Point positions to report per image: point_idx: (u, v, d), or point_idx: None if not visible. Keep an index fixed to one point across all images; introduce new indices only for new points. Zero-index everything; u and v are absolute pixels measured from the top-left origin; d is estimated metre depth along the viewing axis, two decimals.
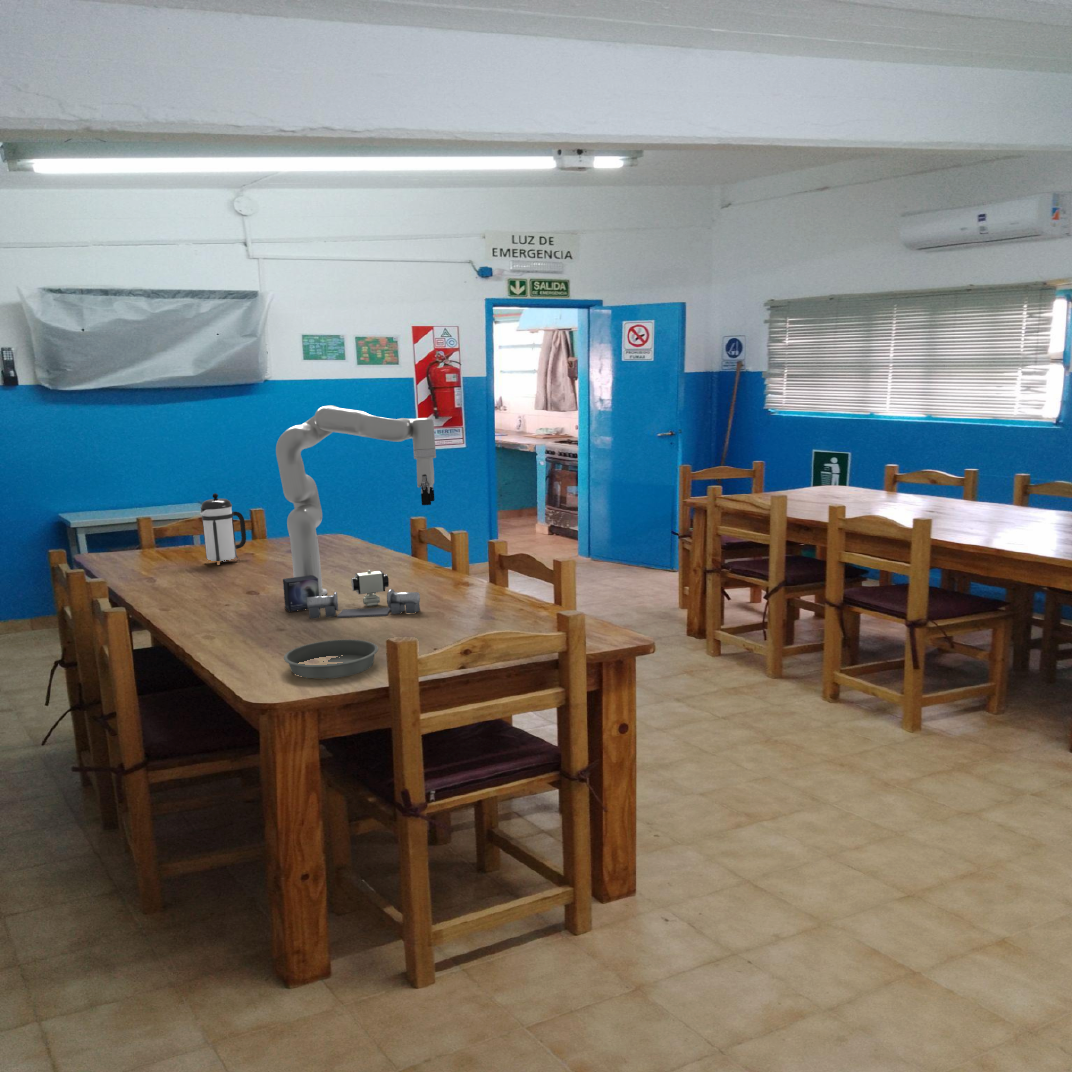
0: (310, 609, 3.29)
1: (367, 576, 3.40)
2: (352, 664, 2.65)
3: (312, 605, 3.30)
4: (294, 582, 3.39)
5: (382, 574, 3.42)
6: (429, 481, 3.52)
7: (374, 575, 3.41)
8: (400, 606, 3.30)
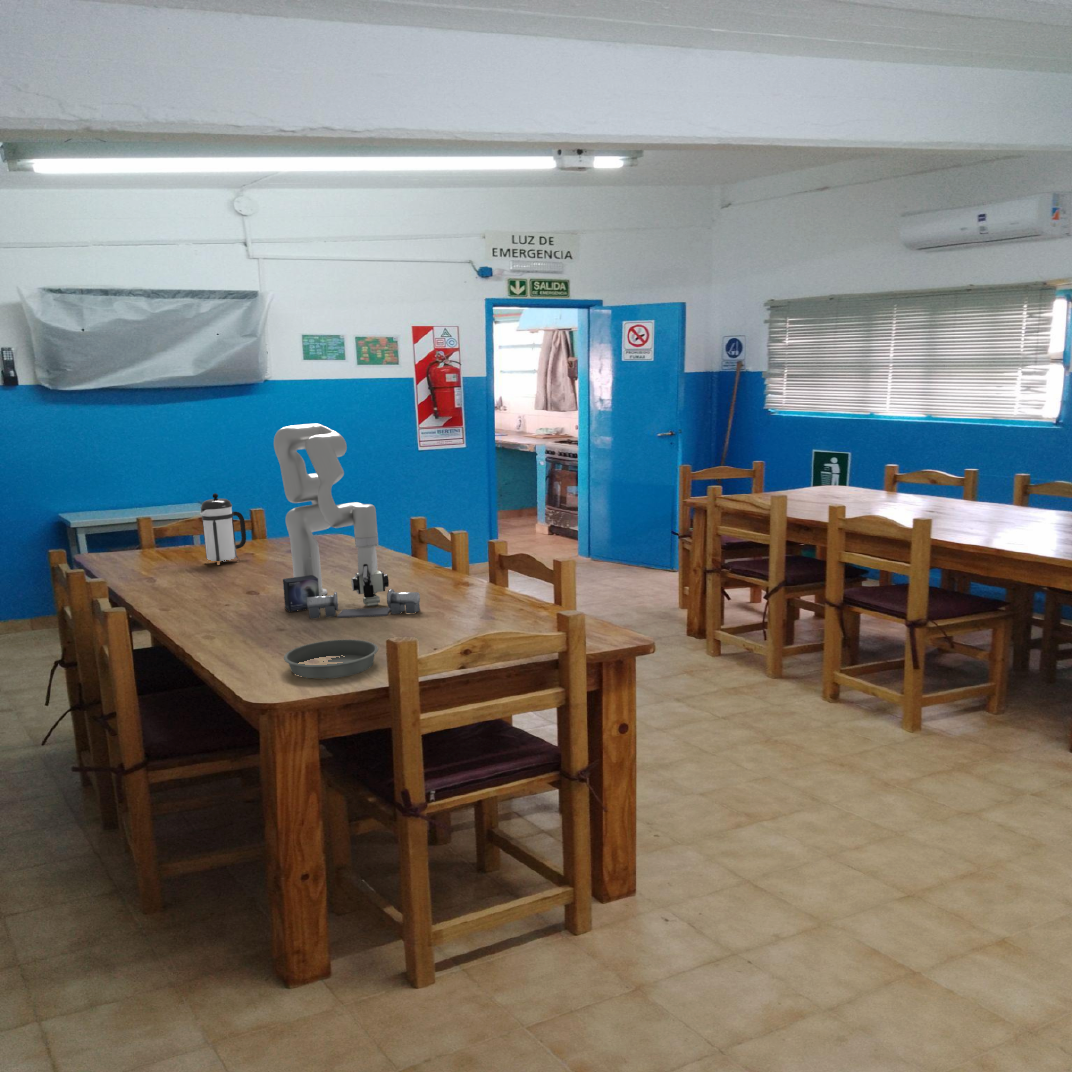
0: (310, 609, 3.29)
1: None
2: (352, 664, 2.65)
3: (312, 605, 3.30)
4: (294, 582, 3.39)
5: (382, 574, 3.42)
6: (370, 571, 3.38)
7: (374, 575, 3.41)
8: (400, 606, 3.30)
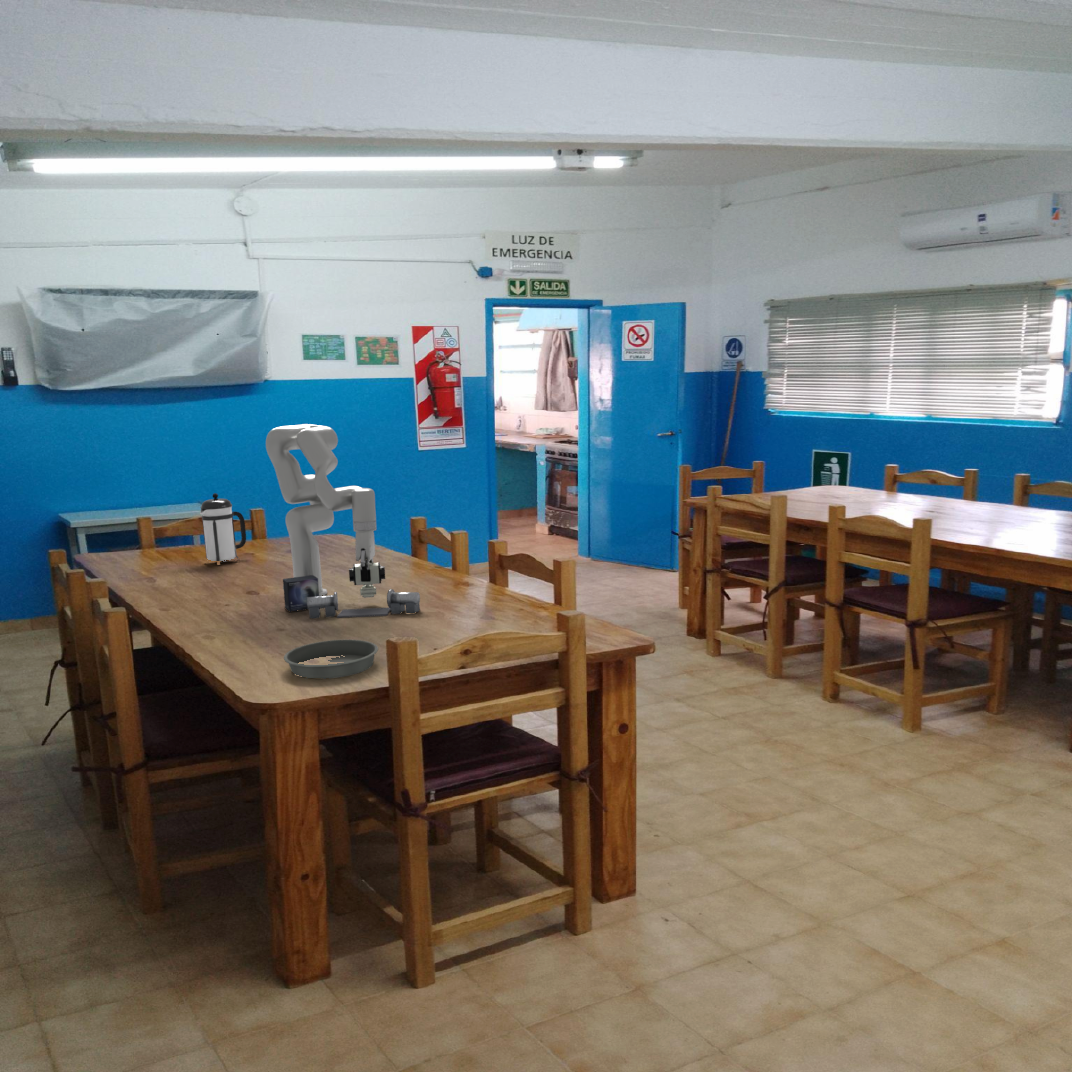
0: (310, 609, 3.29)
1: None
2: (352, 664, 2.65)
3: (312, 605, 3.30)
4: (294, 582, 3.39)
5: (378, 566, 3.41)
6: (368, 555, 3.37)
7: (370, 567, 3.41)
8: (400, 606, 3.30)
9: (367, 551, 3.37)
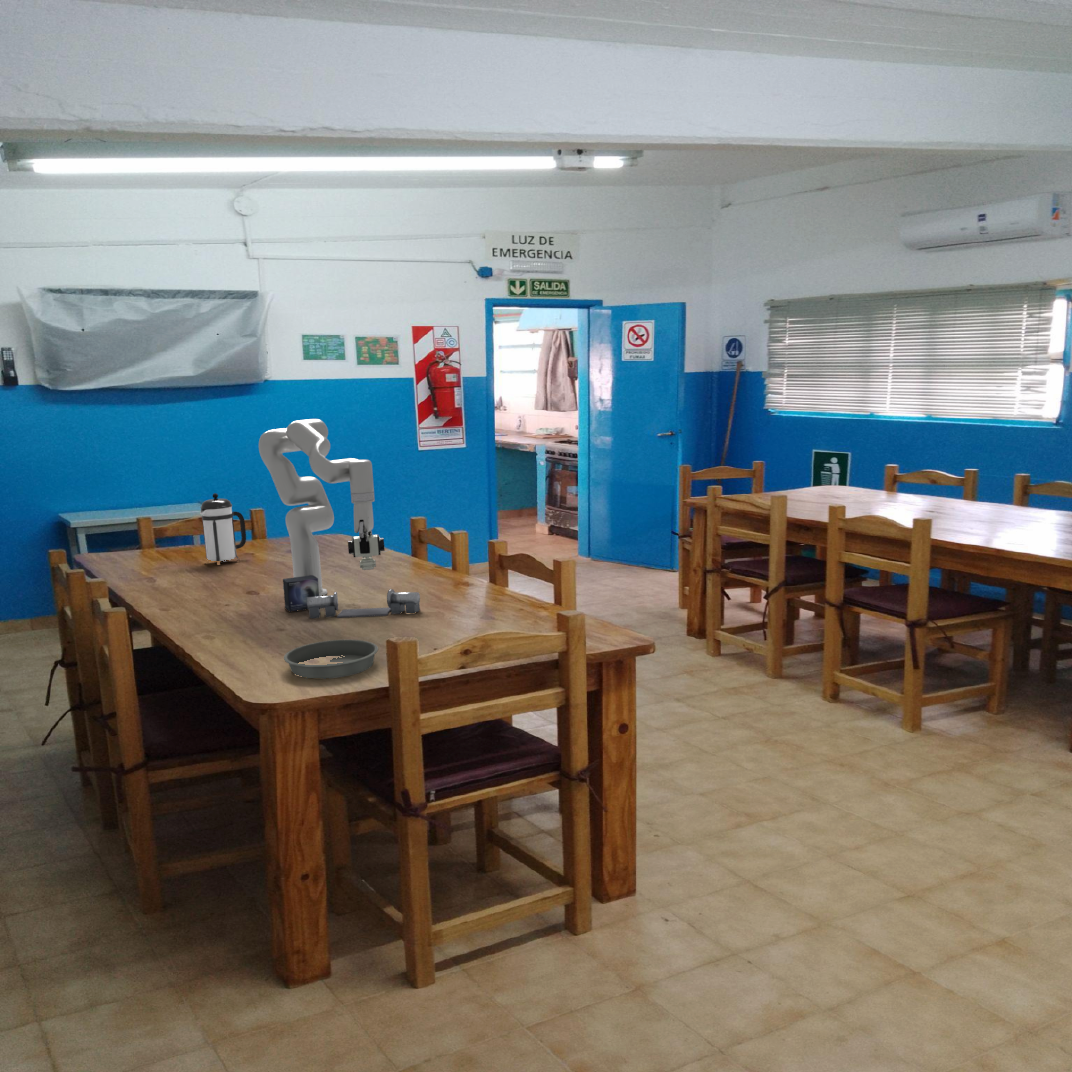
0: (310, 609, 3.29)
1: None
2: (352, 664, 2.65)
3: (312, 605, 3.30)
4: (294, 582, 3.39)
5: (377, 538, 3.39)
6: (366, 526, 3.35)
7: (369, 538, 3.38)
8: (400, 606, 3.30)
9: (366, 522, 3.35)
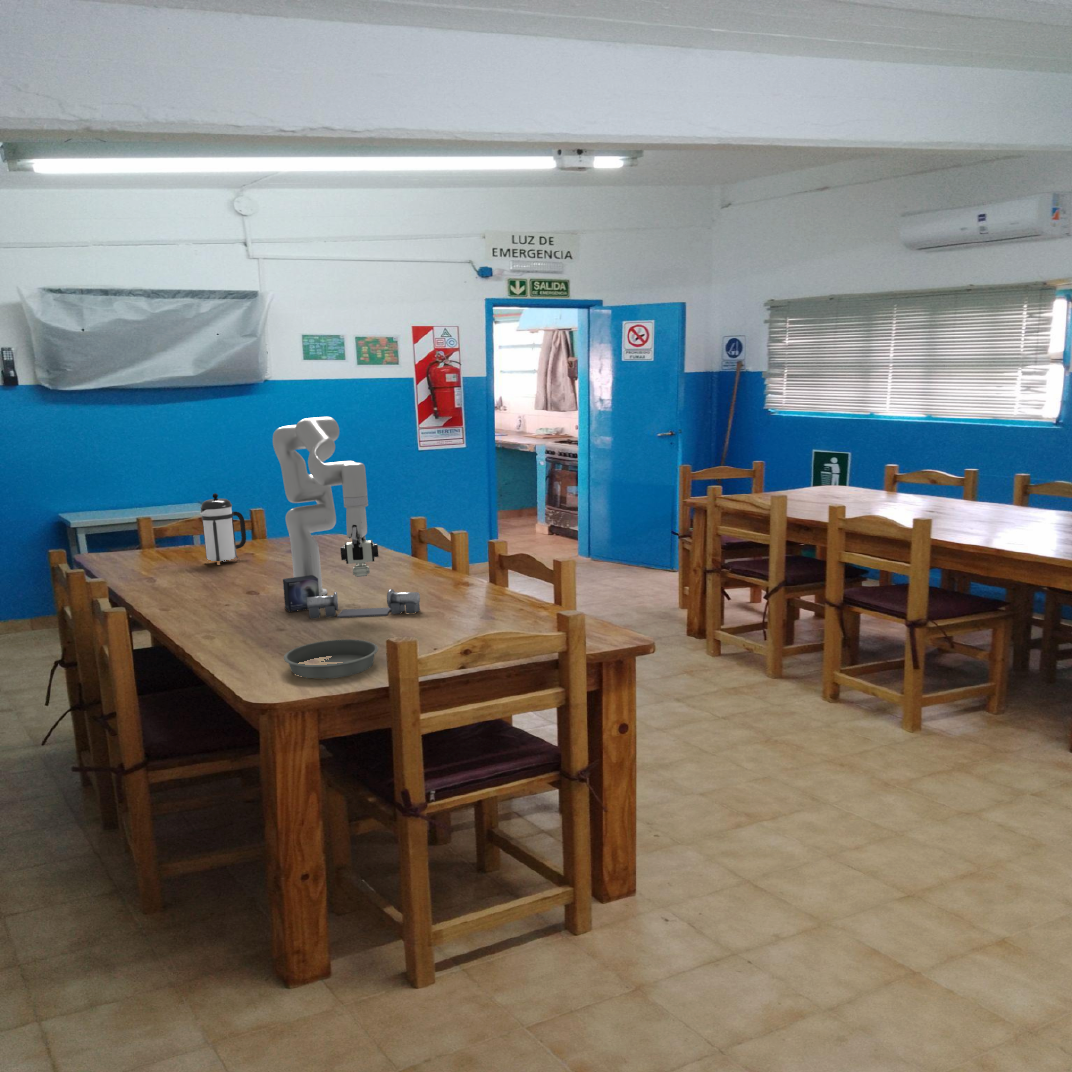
0: (310, 609, 3.29)
1: None
2: (352, 664, 2.65)
3: (312, 605, 3.30)
4: (294, 582, 3.39)
5: (371, 543, 3.27)
6: (360, 532, 3.24)
7: (362, 544, 3.27)
8: (400, 606, 3.30)
9: (359, 527, 3.23)
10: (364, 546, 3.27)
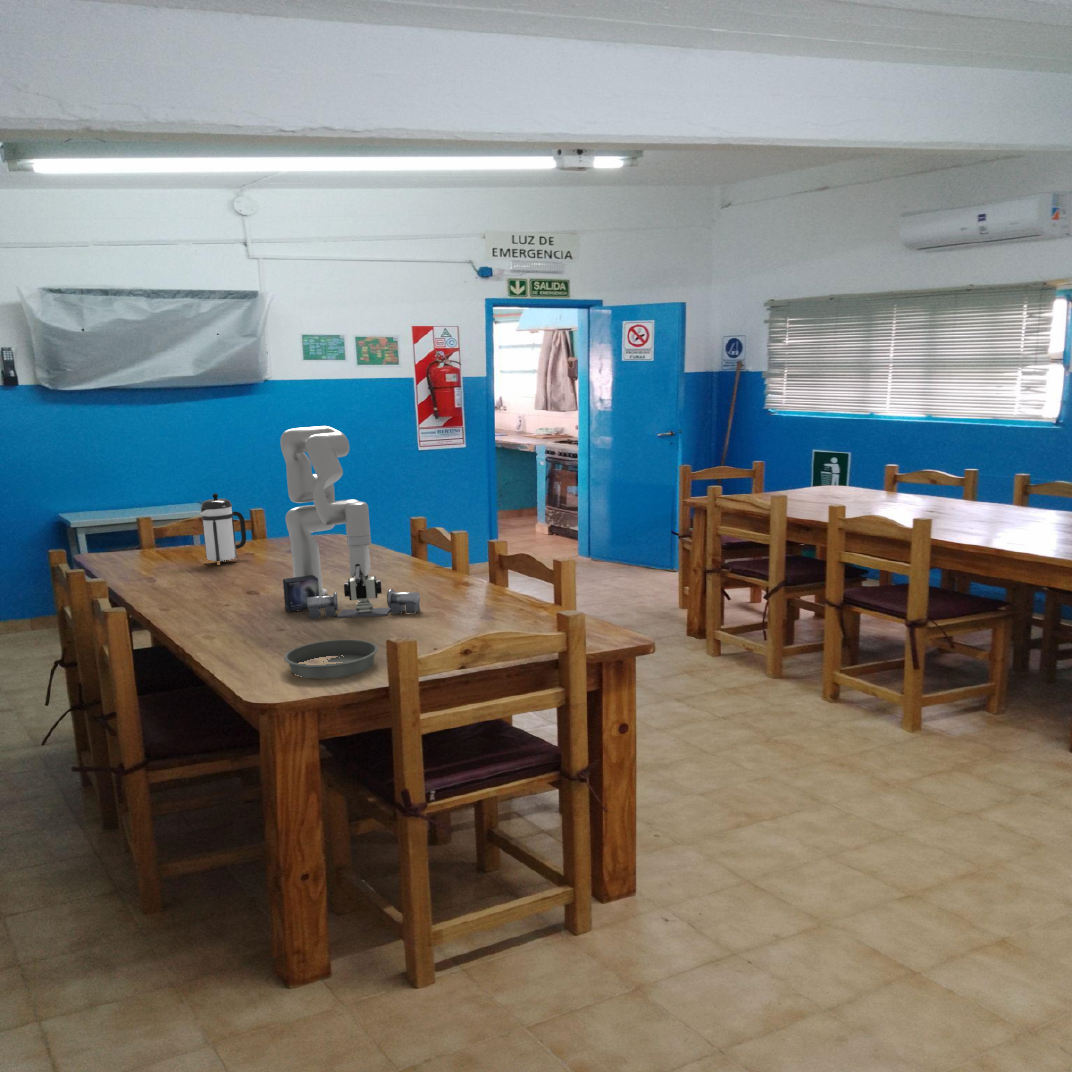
0: (310, 609, 3.29)
1: None
2: (352, 664, 2.65)
3: (312, 605, 3.30)
4: (294, 582, 3.39)
5: (374, 580, 3.29)
6: (363, 571, 3.26)
7: (366, 581, 3.29)
8: (400, 606, 3.30)
9: (362, 567, 3.25)
10: (367, 583, 3.29)
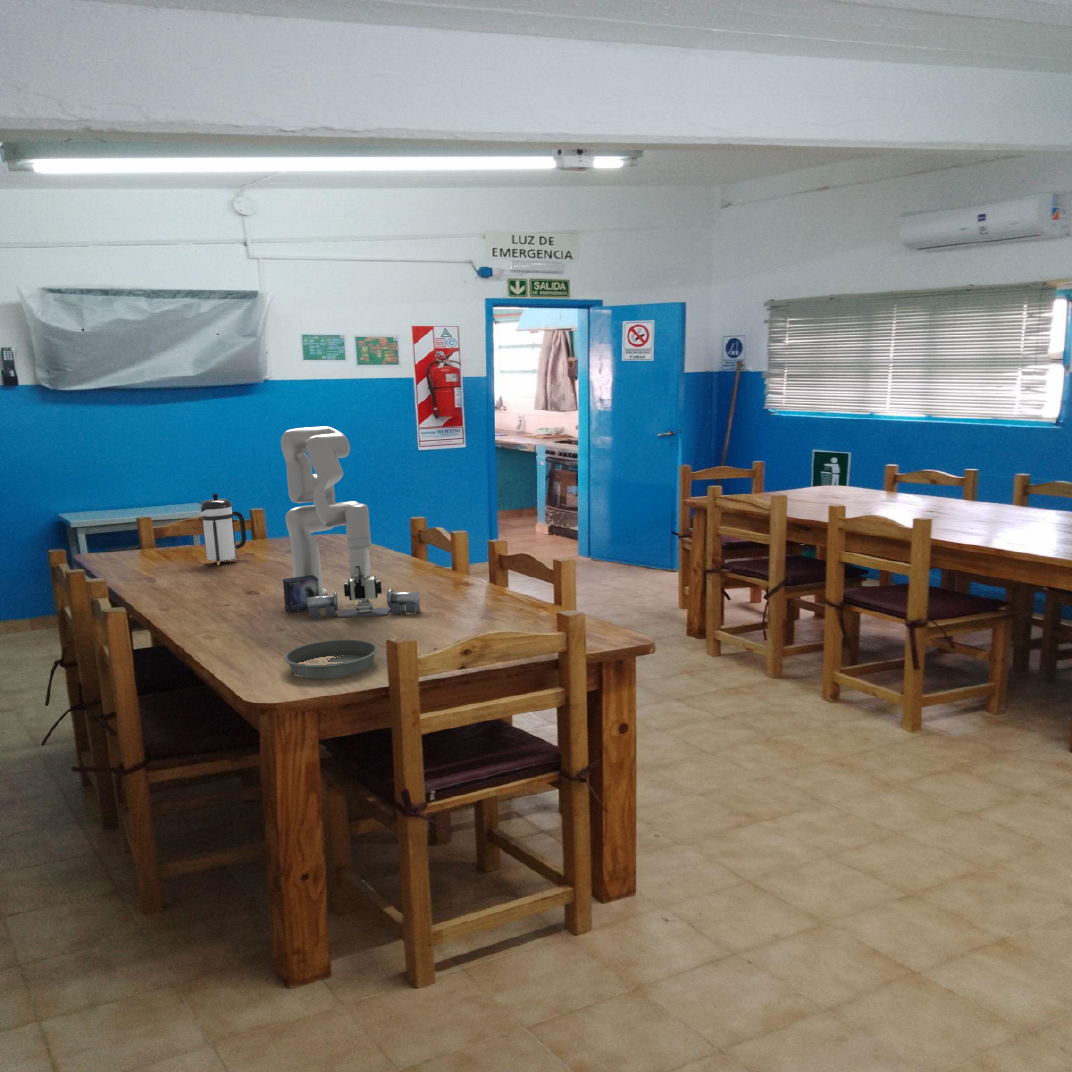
0: (310, 609, 3.29)
1: None
2: (352, 664, 2.65)
3: (312, 605, 3.30)
4: (294, 582, 3.39)
5: (374, 580, 3.29)
6: (363, 573, 3.26)
7: (366, 581, 3.29)
8: (400, 606, 3.30)
9: (362, 568, 3.25)
10: (367, 583, 3.29)
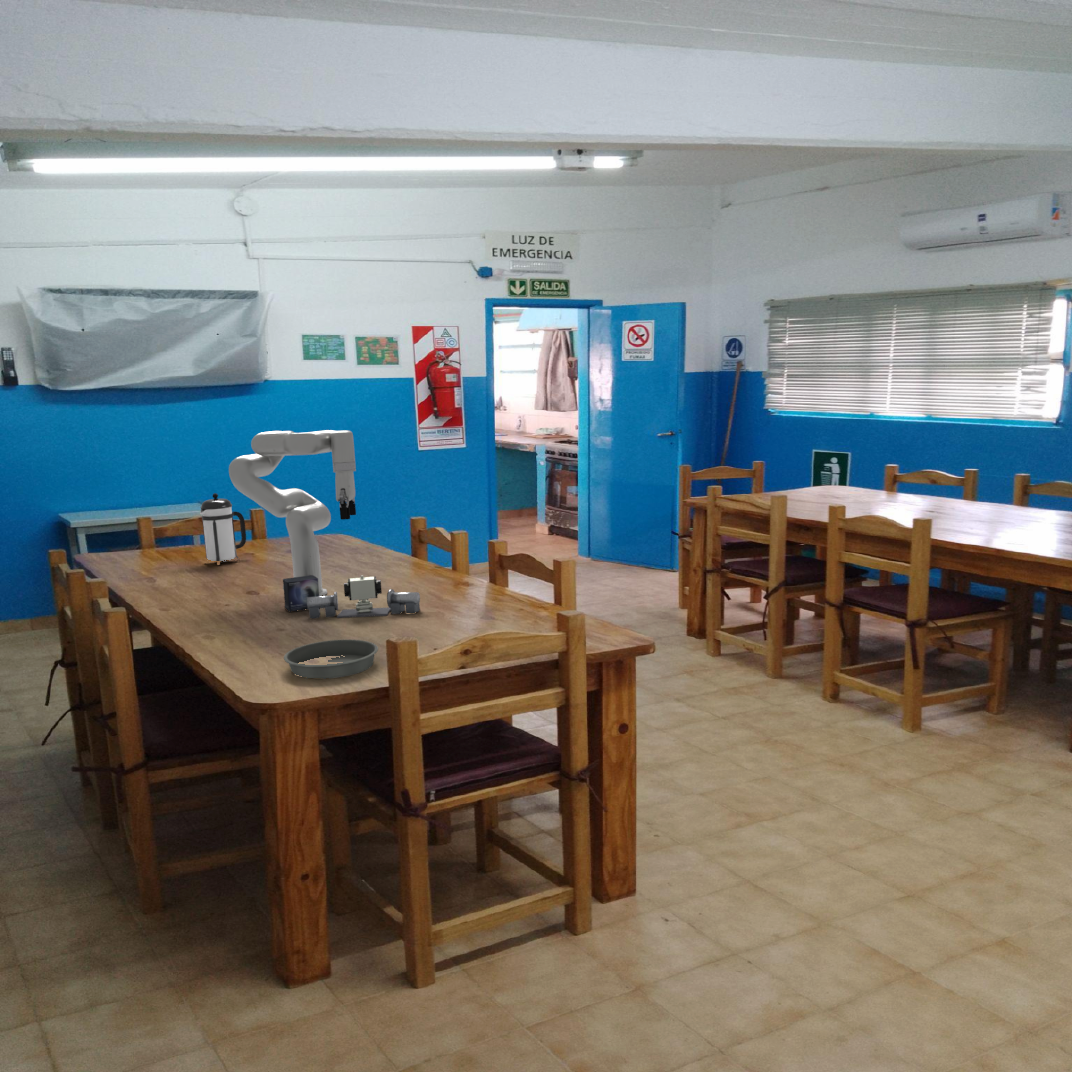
0: (310, 609, 3.29)
1: (358, 582, 3.28)
2: (352, 664, 2.65)
3: (312, 605, 3.30)
4: (294, 582, 3.39)
5: (374, 580, 3.29)
6: (348, 495, 3.46)
7: (366, 581, 3.29)
8: (400, 606, 3.30)
9: (347, 491, 3.46)
10: (367, 583, 3.29)
